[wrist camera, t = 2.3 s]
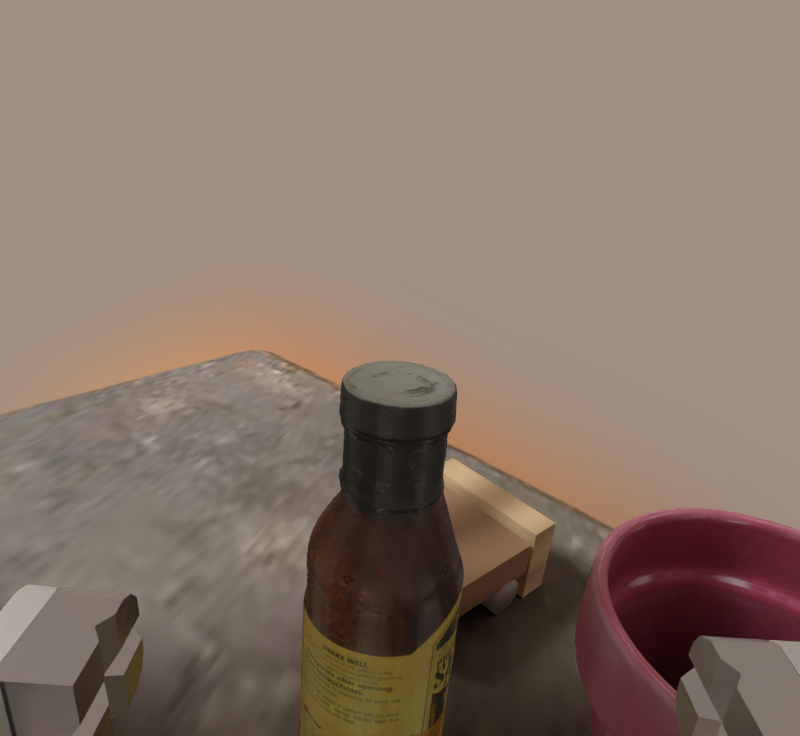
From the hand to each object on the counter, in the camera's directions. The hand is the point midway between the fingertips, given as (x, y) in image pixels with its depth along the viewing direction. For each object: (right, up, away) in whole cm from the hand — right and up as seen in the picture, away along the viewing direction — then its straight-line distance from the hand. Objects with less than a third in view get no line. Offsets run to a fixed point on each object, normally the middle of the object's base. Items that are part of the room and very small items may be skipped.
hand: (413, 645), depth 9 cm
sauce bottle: (-2, -15, +20) cm, 25 cm away
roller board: (+2, -10, +32) cm, 33 cm away
